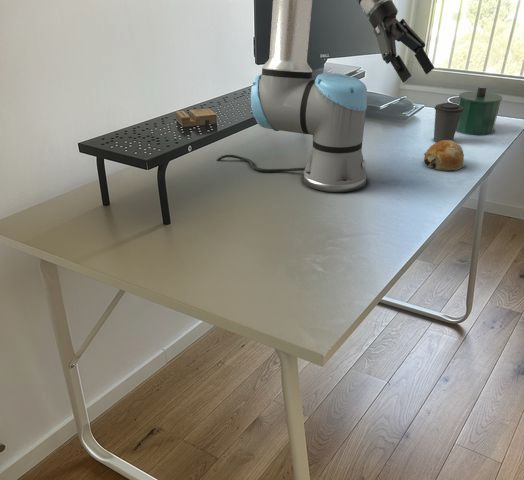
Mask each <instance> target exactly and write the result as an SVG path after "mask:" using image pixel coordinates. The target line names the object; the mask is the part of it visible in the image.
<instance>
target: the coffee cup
mask: <svg viewBox="0 0 524 480" xmlns="http://www.w3.org/2000/svg"><path fill="white" fill-rule="evenodd" d="M433 109H434V110H435V113H434V114H435V115H434V126H433V127H434V129H433V142H435V143H437V142H440V141H443V140H451V141H454V139H455V136H456V132H457V131H456V129H457V126H458V123H459V120H460V116H461V113H462V111H464V109H463V107H462V106H460V105H458V104H457V103H455V102H453V103H452V102H443V103H439V104H436V105H435V106H434V108H433Z"/></svg>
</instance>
